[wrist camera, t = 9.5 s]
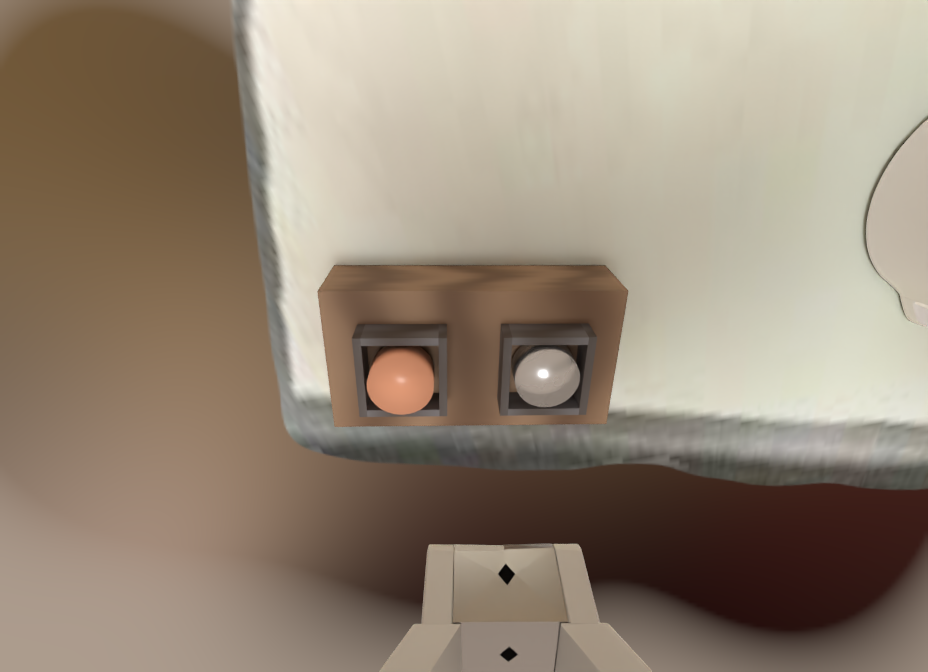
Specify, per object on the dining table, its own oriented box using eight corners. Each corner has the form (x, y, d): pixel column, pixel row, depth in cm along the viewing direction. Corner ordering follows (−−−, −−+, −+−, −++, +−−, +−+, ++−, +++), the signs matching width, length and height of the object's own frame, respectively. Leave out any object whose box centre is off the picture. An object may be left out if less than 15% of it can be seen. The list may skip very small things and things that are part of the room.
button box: (605, 265, 35) (639, 303, 29) (588, 386, 40) (614, 441, 33) (334, 265, 34) (309, 303, 28) (347, 388, 39) (328, 445, 33)
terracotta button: (433, 341, 31) (433, 357, 29) (434, 396, 33) (434, 414, 31) (369, 342, 31) (364, 358, 29) (373, 397, 32) (369, 414, 31)
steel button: (575, 336, 32) (583, 351, 30) (569, 390, 33) (576, 406, 32) (513, 336, 32) (517, 351, 30) (510, 390, 33) (513, 407, 31)
